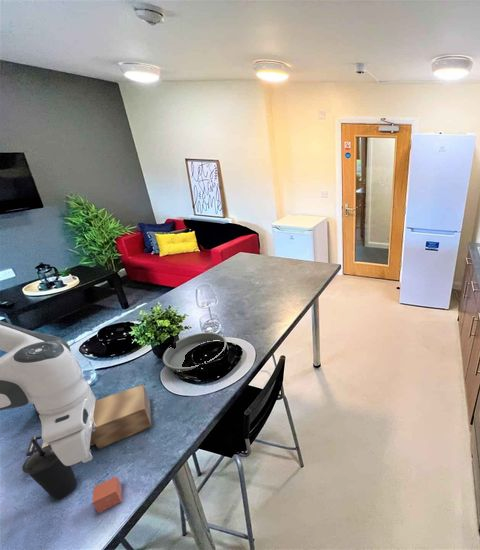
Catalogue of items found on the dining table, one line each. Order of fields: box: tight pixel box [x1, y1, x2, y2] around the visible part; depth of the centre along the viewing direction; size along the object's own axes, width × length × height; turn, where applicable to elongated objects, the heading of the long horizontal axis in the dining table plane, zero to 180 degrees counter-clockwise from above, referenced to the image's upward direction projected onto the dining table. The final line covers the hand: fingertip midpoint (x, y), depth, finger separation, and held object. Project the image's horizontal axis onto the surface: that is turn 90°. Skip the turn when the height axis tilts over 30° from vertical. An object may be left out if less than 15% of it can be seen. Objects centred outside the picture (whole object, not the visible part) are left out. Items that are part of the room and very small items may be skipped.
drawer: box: [25, 434, 96, 457], centre depth 89 cm, size 17×11×7 cm
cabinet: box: [91, 384, 152, 450], centre depth 96 cm, size 14×13×9 cm
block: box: [91, 476, 123, 514], centre depth 76 cm, size 5×5×5 cm
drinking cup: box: [21, 439, 78, 500], centre depth 75 cm, size 8×8×20 cm
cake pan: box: [162, 332, 228, 373], centre depth 128 cm, size 25×25×4 cm
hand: (90, 443), depth 73 cm, fingers open, 8 cm apart
